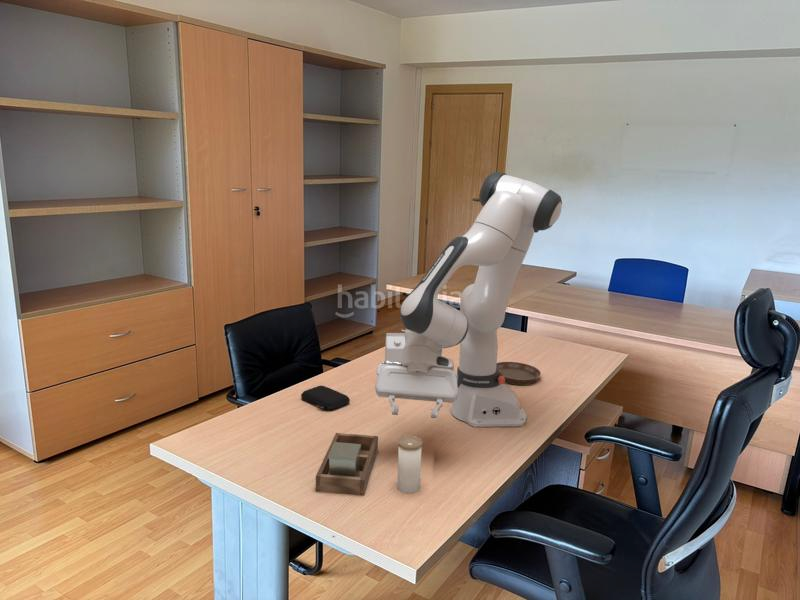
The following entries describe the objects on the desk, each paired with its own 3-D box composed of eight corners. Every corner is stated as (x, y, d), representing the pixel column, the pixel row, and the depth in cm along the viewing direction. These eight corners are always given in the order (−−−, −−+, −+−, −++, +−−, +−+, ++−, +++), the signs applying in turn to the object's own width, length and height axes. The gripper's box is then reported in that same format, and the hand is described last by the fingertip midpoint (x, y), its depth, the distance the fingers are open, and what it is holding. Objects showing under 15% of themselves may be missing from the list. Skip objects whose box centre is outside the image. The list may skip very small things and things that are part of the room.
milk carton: (384, 383, 194) (385, 330, 190) (405, 383, 195) (406, 330, 190) (385, 391, 187) (387, 336, 183) (407, 391, 188) (409, 336, 184)
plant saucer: (536, 370, 211) (537, 362, 211) (543, 389, 194) (544, 380, 194) (488, 367, 213) (489, 359, 212) (491, 385, 196) (491, 377, 195)
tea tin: (360, 473, 136) (361, 444, 134) (355, 488, 130) (356, 457, 128) (334, 471, 136) (334, 442, 134) (328, 486, 130) (328, 455, 128)
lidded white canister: (420, 486, 134) (423, 436, 131) (419, 499, 128) (421, 447, 125) (398, 484, 134) (399, 434, 131) (395, 497, 129) (397, 445, 126)
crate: (377, 453, 148) (378, 436, 146) (364, 500, 127) (364, 480, 126) (335, 450, 149) (335, 432, 148) (315, 495, 128) (315, 476, 127)
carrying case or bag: (295, 400, 179) (326, 415, 170) (295, 391, 178) (326, 405, 169) (321, 391, 187) (352, 404, 177) (321, 382, 186) (352, 395, 177)
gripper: (377, 354, 142) (370, 407, 135) (459, 361, 140) (456, 414, 133) (379, 365, 147) (372, 416, 140) (458, 371, 146) (455, 423, 139)
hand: (414, 415), depth 137 cm, fingers open, 8 cm apart
